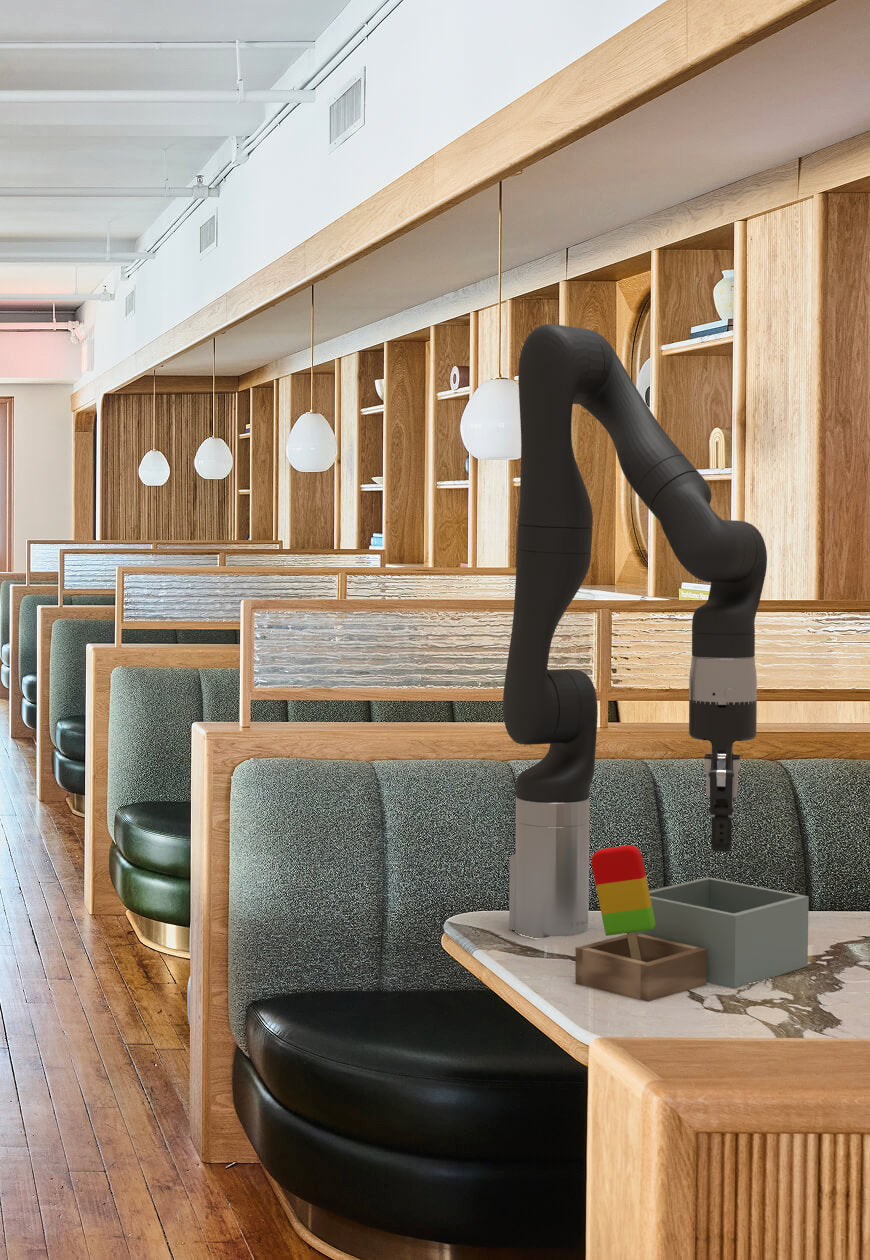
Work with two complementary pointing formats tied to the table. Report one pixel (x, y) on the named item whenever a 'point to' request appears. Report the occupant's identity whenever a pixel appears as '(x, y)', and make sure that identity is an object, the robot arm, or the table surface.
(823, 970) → the table surface
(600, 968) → the collar
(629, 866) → the popsicle
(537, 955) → the table surface
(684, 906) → the bin
